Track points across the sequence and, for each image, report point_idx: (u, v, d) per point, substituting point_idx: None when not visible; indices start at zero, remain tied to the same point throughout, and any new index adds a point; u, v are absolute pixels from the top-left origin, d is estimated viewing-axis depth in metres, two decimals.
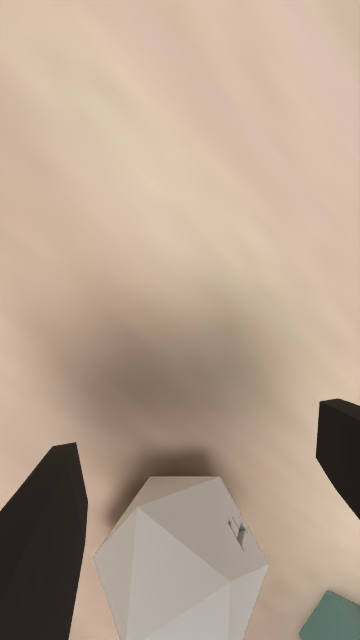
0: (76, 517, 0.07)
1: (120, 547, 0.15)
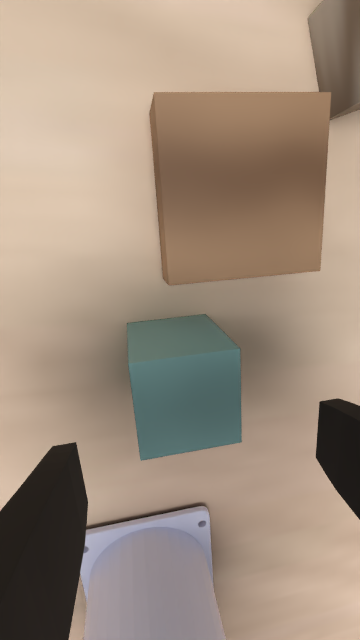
0: (76, 517, 0.07)
1: None
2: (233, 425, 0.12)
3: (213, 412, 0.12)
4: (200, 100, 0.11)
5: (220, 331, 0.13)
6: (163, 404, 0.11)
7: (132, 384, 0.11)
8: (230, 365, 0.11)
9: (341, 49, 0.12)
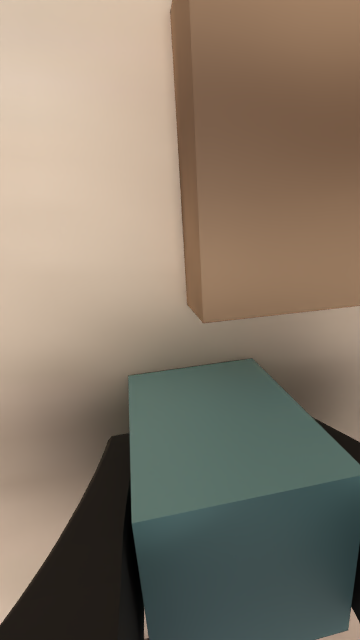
0: None
1: None
2: (337, 606, 0.06)
3: (303, 590, 0.06)
4: None
5: (298, 408, 0.07)
6: (206, 589, 0.05)
7: (141, 562, 0.05)
8: (345, 506, 0.05)
9: None
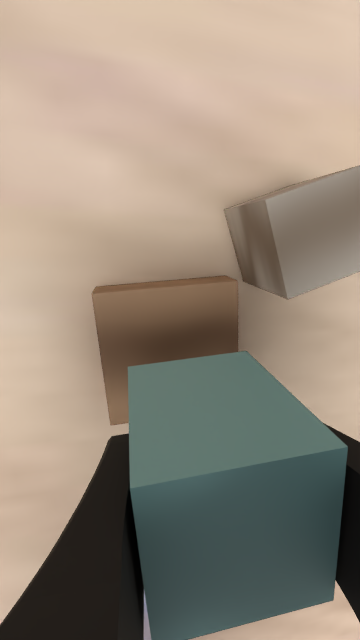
0: None
1: None
2: (322, 576, 0.06)
3: (290, 559, 0.06)
4: (129, 295, 0.14)
5: (287, 393, 0.08)
6: (198, 554, 0.06)
7: (138, 526, 0.05)
8: (327, 477, 0.06)
9: (245, 247, 0.15)
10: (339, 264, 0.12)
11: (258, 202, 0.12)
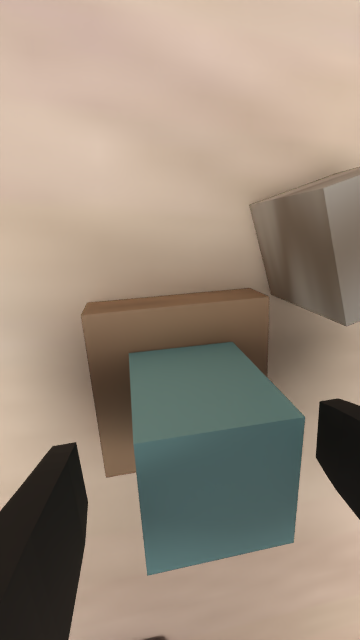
0: (76, 517, 0.07)
1: None
2: (284, 521, 0.08)
3: (258, 507, 0.08)
4: (131, 317, 0.11)
5: (263, 377, 0.09)
6: (185, 498, 0.07)
7: (139, 474, 0.07)
8: (288, 441, 0.07)
9: (279, 253, 0.12)
10: None
11: (309, 192, 0.08)
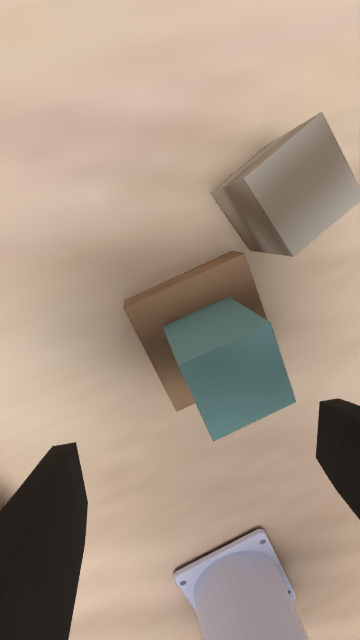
0: (76, 517, 0.07)
1: None
2: (284, 389, 0.13)
3: (264, 384, 0.13)
4: (155, 299, 0.16)
5: (248, 310, 0.14)
6: (218, 389, 0.12)
7: (186, 381, 0.12)
8: (266, 339, 0.12)
9: (241, 221, 0.16)
10: (330, 208, 0.13)
11: (238, 181, 0.13)
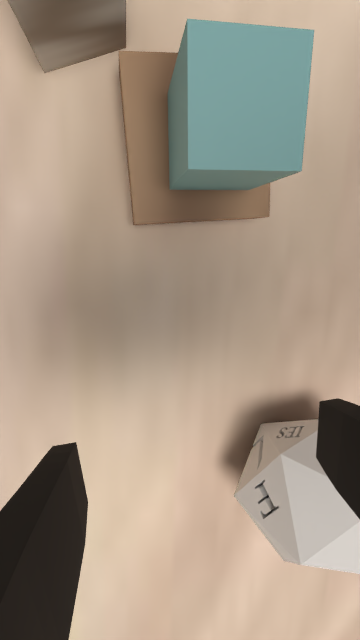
0: (76, 517, 0.07)
1: None
2: (288, 40, 0.09)
3: (265, 67, 0.10)
4: (136, 185, 0.14)
5: (177, 60, 0.11)
6: (241, 134, 0.10)
7: (211, 167, 0.10)
8: (207, 36, 0.09)
9: (79, 39, 0.13)
10: None
11: (13, 8, 0.10)
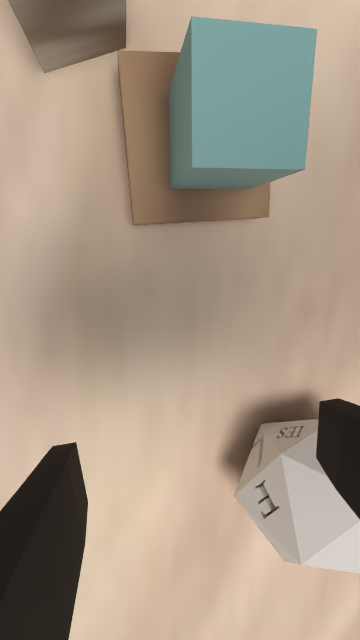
0: (76, 517, 0.07)
1: None
2: (291, 39, 0.09)
3: (268, 66, 0.10)
4: (135, 185, 0.14)
5: (179, 58, 0.11)
6: (244, 132, 0.10)
7: (215, 165, 0.10)
8: (211, 34, 0.09)
9: (79, 38, 0.13)
10: None
11: (13, 7, 0.10)
